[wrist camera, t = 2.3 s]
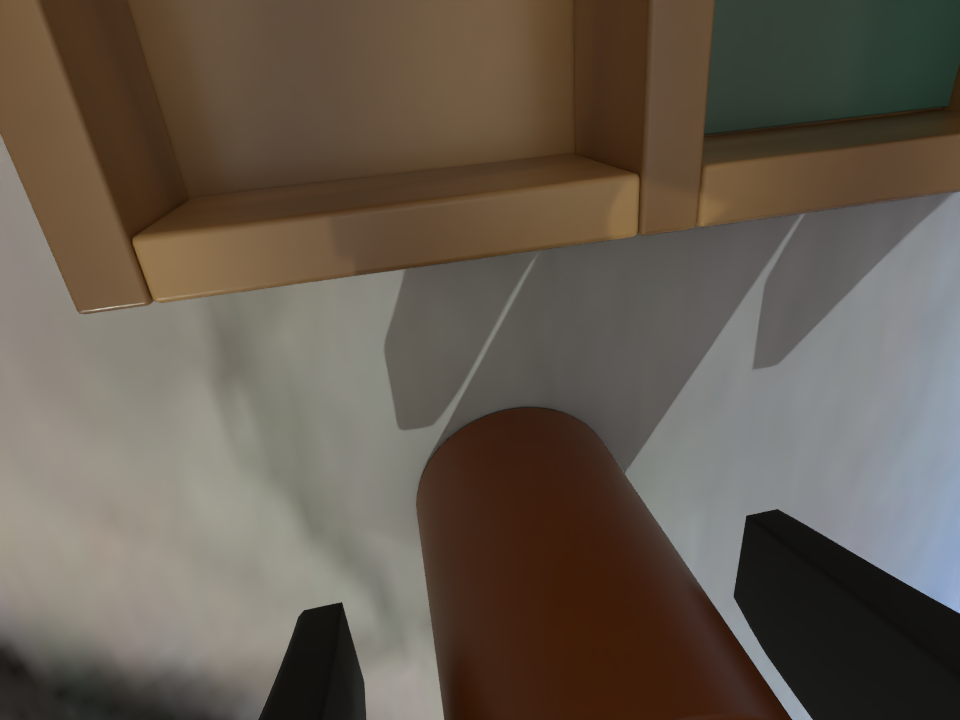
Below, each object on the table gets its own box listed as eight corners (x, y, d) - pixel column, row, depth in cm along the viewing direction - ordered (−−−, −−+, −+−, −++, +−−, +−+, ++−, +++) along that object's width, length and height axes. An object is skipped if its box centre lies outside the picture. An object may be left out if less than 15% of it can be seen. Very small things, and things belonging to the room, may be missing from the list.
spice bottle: (612, 390, 12) (989, 842, 5) (609, 547, 14) (872, 1034, 7) (402, 427, 11) (473, 1005, 4) (429, 586, 13) (510, 1161, 6)
